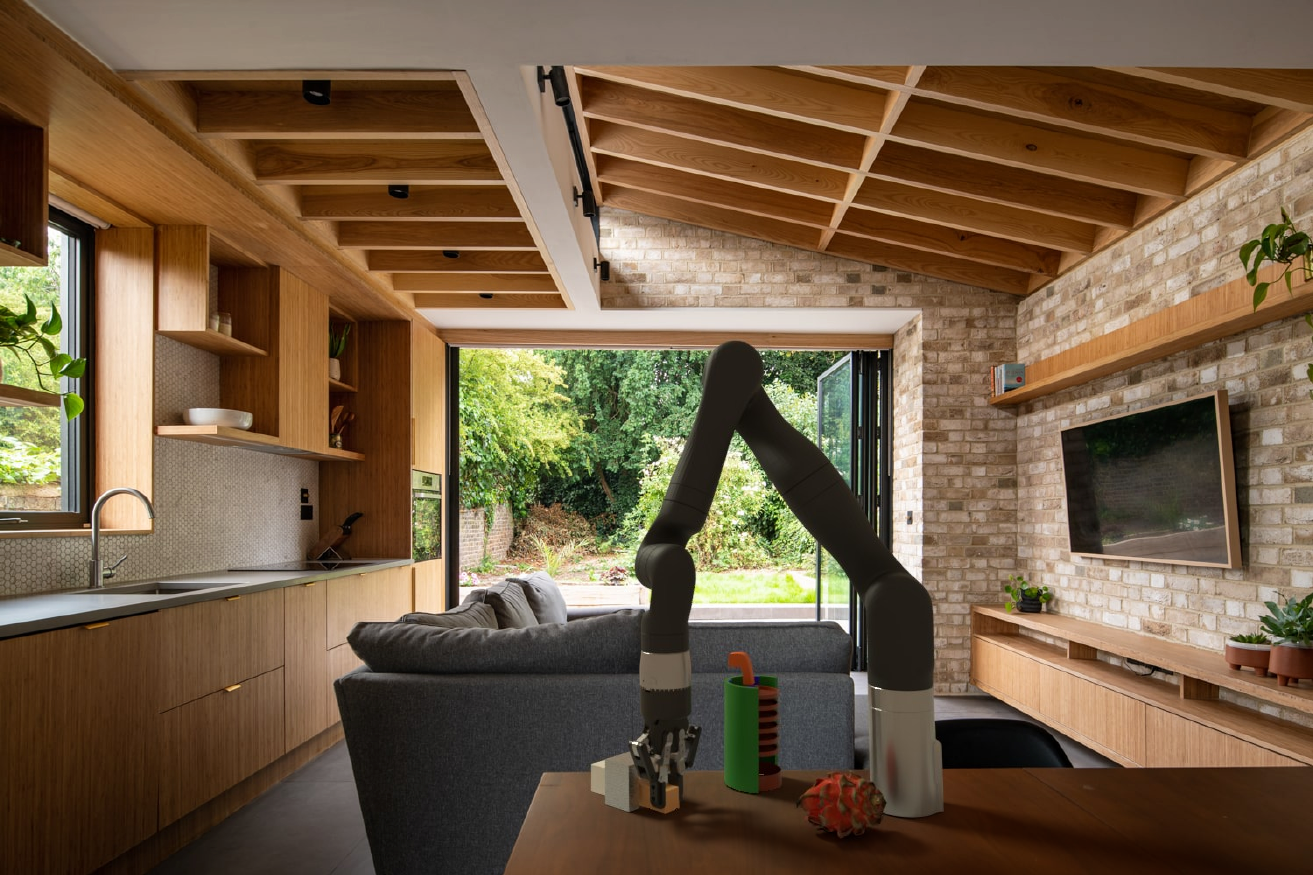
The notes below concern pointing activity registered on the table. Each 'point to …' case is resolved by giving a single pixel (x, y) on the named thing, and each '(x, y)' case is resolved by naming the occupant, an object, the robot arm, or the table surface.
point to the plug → (644, 789)
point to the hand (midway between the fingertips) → (666, 803)
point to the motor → (751, 729)
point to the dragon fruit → (843, 804)
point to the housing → (623, 782)
